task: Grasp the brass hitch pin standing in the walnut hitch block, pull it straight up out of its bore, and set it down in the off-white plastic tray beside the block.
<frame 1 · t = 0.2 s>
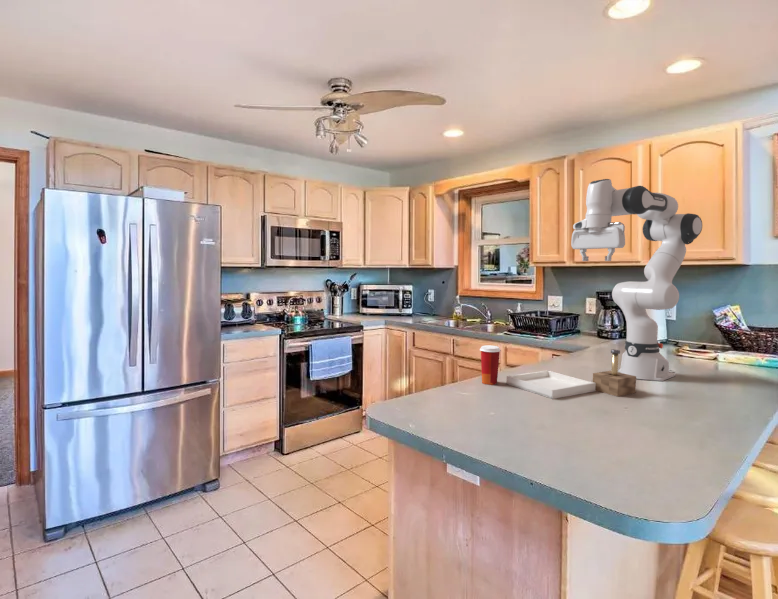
hand: (596, 261, 168), 47 cm above the table, fingers open, 8 cm apart
walnut hitch block: (613, 391, 163), on the table
brass pin: (614, 370, 163), in the walnut hitch block
off-white tray: (549, 387, 167), on the table
paper cup: (489, 383, 173), on the table
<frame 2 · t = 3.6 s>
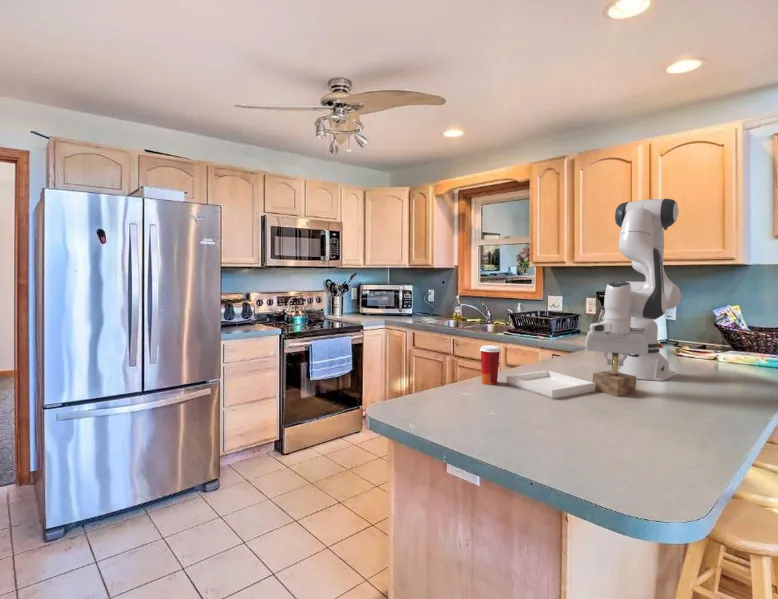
hand: (614, 364, 162), 10 cm above the table, fingers closed on brass pin, 2 cm apart
brass pin: (614, 370, 163), in the walnut hitch block, touching gripper
everything else where it was.
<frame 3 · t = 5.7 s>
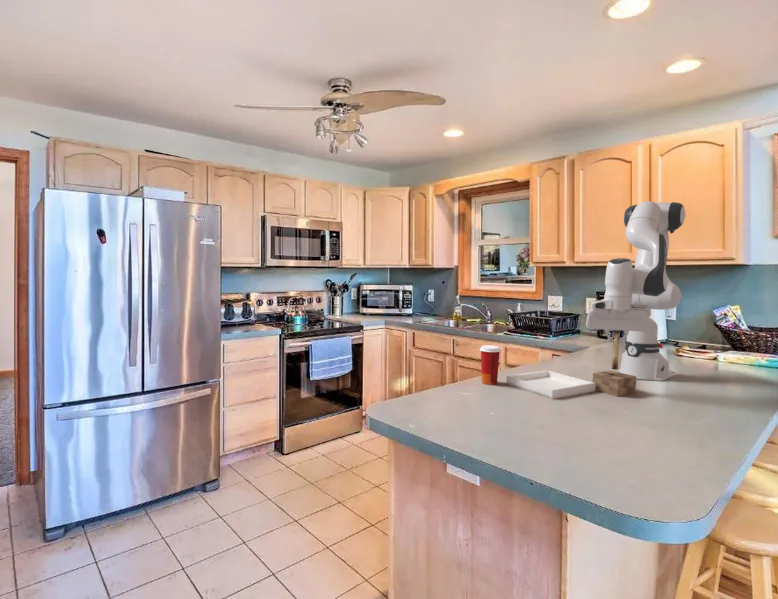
hand: (616, 342, 162), 18 cm above the table, fingers closed on brass pin, 2 cm apart
brass pin: (615, 348, 162), point 16 cm above the table, touching gripper
everything else where it was.
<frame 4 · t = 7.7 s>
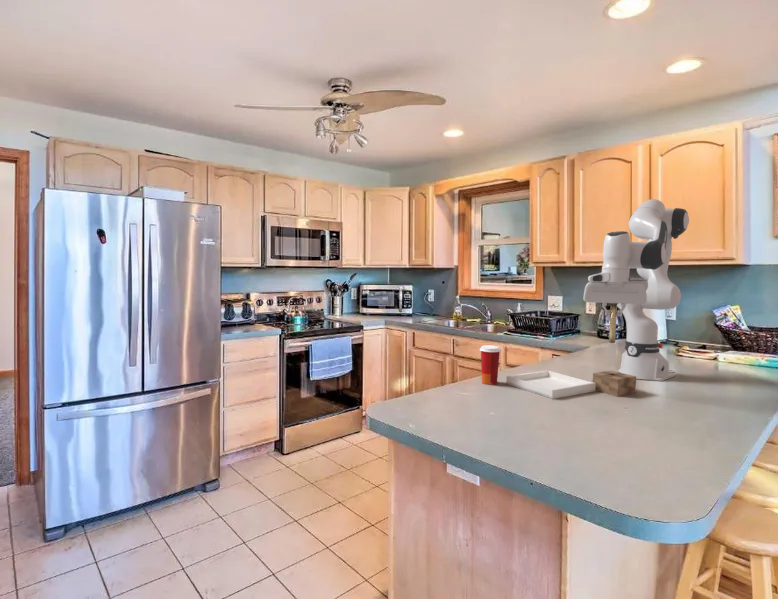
hand: (613, 315, 161), 27 cm above the table, fingers closed on brass pin, 2 cm apart
brass pin: (613, 321, 161), point 25 cm above the table, touching gripper
everything else where it was.
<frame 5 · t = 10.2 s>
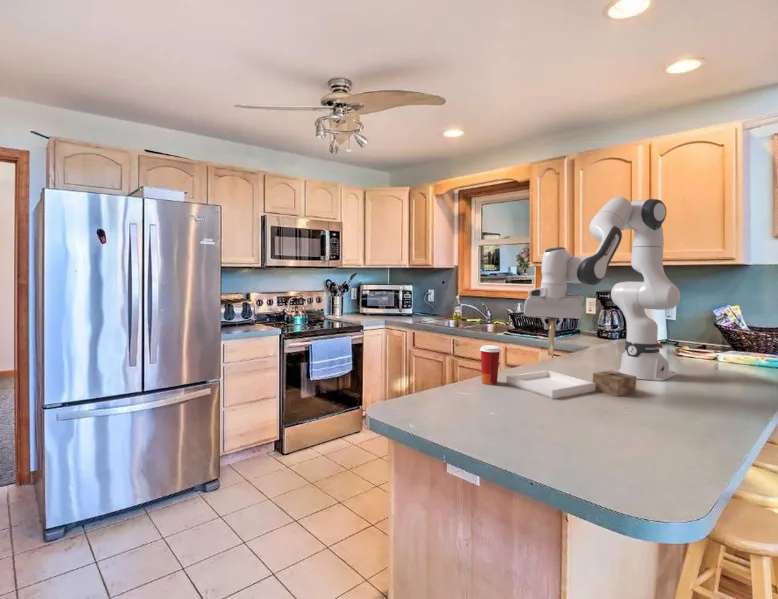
hand: (551, 329, 166), 22 cm above the table, fingers closed on brass pin, 2 cm apart
brass pin: (551, 335, 166), point 20 cm above the table, touching gripper
everything else where it was.
when the fingers open (12 cm above the table, at t = 12.1 s): brass pin drops 1 cm, resting on off-white tray.
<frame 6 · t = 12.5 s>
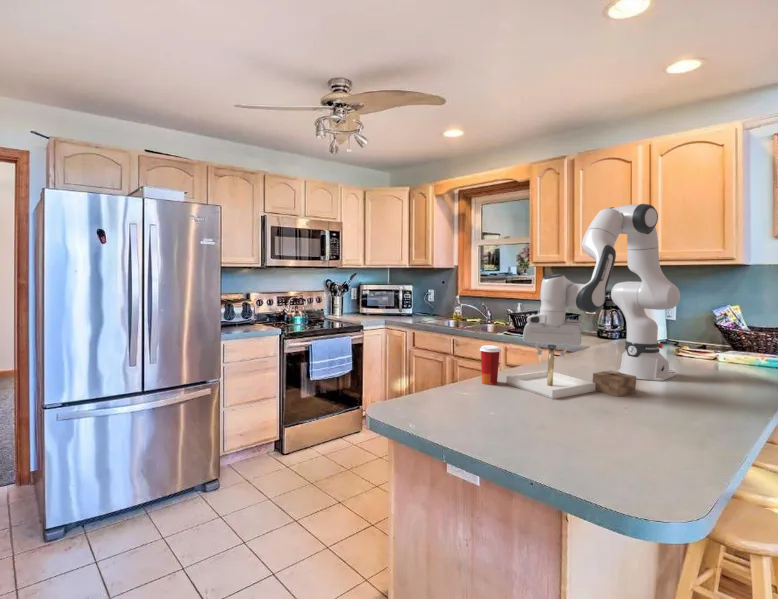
hand: (550, 355, 167), 12 cm above the table, fingers open, 7 cm apart
brass pin: (550, 365, 167), in the off-white tray, point 8 cm above the table
everything else where it was.
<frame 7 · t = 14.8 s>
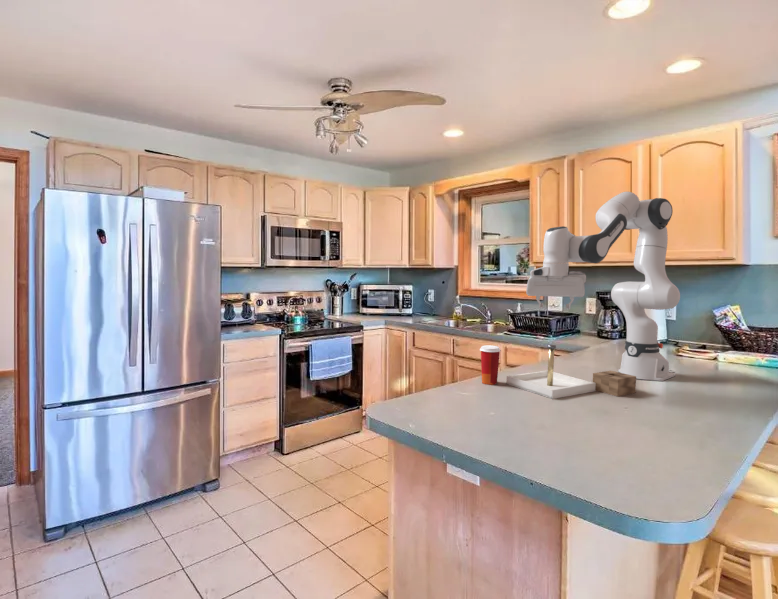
hand: (554, 308, 167), 29 cm above the table, fingers open, 8 cm apart
nothing on the table moved.
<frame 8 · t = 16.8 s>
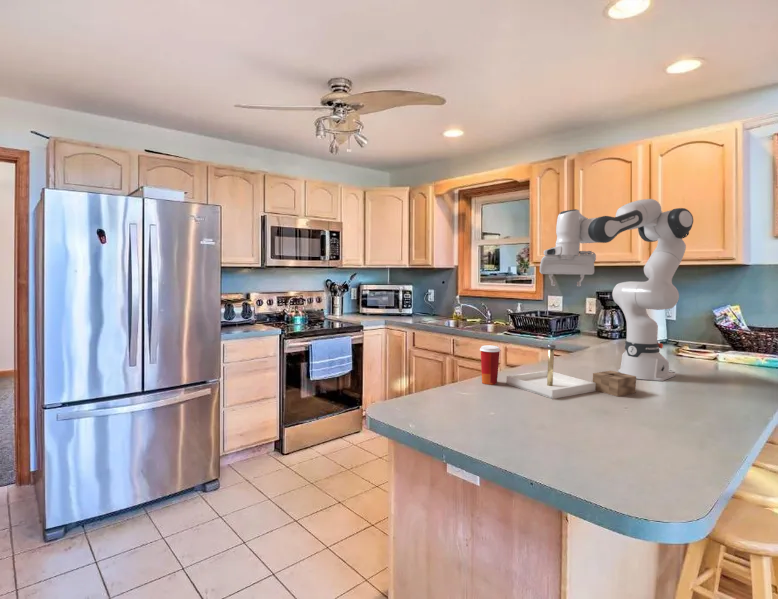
hand: (565, 286, 179), 37 cm above the table, fingers open, 8 cm apart
nothing on the table moved.
at the end: brass pin inside the target area on the off-white tray (0.1 cm from its centre), point 8.3 cm above the off-white tray's base; brass pin moved 22.0 cm from its start; the gripper is holding nothing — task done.
